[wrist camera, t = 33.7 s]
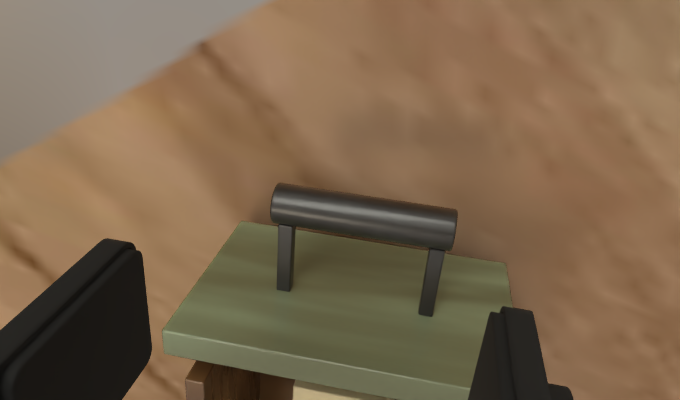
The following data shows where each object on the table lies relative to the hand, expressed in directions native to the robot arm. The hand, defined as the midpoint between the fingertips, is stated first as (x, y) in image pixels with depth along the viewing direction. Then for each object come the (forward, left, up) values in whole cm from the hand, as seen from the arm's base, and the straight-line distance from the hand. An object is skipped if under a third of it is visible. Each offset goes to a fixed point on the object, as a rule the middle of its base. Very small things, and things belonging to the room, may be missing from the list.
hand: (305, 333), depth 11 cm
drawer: (+12, 0, -15) cm, 19 cm away
